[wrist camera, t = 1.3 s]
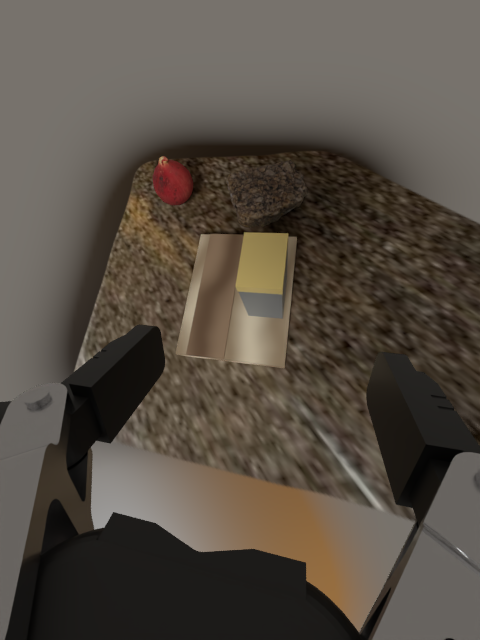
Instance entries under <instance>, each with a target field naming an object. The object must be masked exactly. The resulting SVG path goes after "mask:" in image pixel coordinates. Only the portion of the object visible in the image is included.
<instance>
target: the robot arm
mask: <svg viewBox="0 0 480 640" xmlns="http://www.w3.org/2000/svg"><path fill="white" fill-rule="evenodd" d="M164 367H165V356H164V350H163V344H162V338H161V332H160V329H159V328H158V327H156V326H147V325H137V326H135V327H134V328H133V329H132V330H131V331H129V332H128V333H127V334H126V335H124V336H122V337H120V338H118V339H116V340H114V341H112V342H110V343H109V344H108V345H107V346H105V347H104V348H103V349H102V350H101V352H100V351H99V352H98V353H97V354H96V355H94V356H93V359H92V358H91V359H90V360H88V361H87V362H86V363H85V364H84V365H82V366H81V367H80V368H79V369H78V370H76V371H75V372H74V373H73V374H72V375H70V376H69V377H68V378H67V379H65V380H64V381H63V382H62V383H61V384H60V383H47V384H42V385H39V386H36V387H33V388H31V389H29V390H27V391H25V392H23V393H22V394H20V395H19V396H18V397H16V398H15V399H14V400H13V401H8V402H0V640H480V446H479V445H478V443H477V442H476V440H475V439H474V437H473V436H472V434H471V433H470V431H469V430H468V428H467V427H466V425H465V424H464V422H463V421H462V419H461V418H460V416H459V415H458V413H457V412H456V411H454V407H453V406H452V404H451V403H450V401H449V400H447V399H446V395H445V394H444V393H443V391H442V390H441V388H440V387H439V385H438V384H437V383H436V382H435V381H434V380H432V379H431V378H430V377H429V376H427V375H426V374H425V373H424V372H418V371H416V370H415V368H414V367H413V365H412V363H411V362H410V360H409V358H408V357H407V356H406V355H404V354H395V353H386V352H379V353H378V355H377V357H376V360H375V363H374V367H373V370H372V374H371V377H370V380H369V384H368V387H367V395H366V398H367V406H368V409H369V413H370V416H371V420H372V423H373V427H374V430H375V434H376V437H377V441H378V444H379V447H380V451H381V454H382V458H383V461H384V465H385V468H386V472H387V475H388V479H389V482H390V485H391V489H392V492H393V496H394V499H395V503H396V504H397V505H401V506H406V507H411V508H413V510H414V513H415V516H416V519H417V520H416V522H415V524H414V525H413V527H412V529H411V532H410V533H409V535H408V537H407V540H406V542H405V544H404V546H403V548H402V550H401V552H400V554H399V556H398V558H397V560H396V562H395V564H394V566H393V568H392V570H391V572H390V574H389V576H388V578H387V580H386V582H385V584H384V586H383V588H382V590H381V592H380V594H379V596H378V597H377V600H376V601H375V603H374V605H373V607H372V608H371V610H370V612H369V614H368V616H367V618H366V620H365V622H364V624H363V626H362V628H361V630H360V632H358V631H357V629H356V628H355V627H354V626H353V624H352V623H351V622H350V621H349V619H348V618H347V617H346V616H345V614H344V613H343V612H342V611H341V610H340V609H339V608H338V607H337V606H336V605H335V604H334V603H333V602H332V601H331V600H330V599H329V598H328V597H327V596H326V595H325V594H324V593H322V592H321V591H320V590H318V588H316V587H315V586H313V585H312V584H310V583H309V582H307V581H306V563H305V562H301V561H297V560H293V559H290V558H286V557H282V556H278V555H274V554H271V553H267V552H263V551H259V550H255V549H248V550H247V549H246V550H232V551H231V550H230V551H214V552H198V551H196V550H194V549H192V548H191V547H189V546H188V545H186V544H185V543H183V542H182V541H180V540H179V539H178V538H176V537H175V536H173V535H172V534H170V533H169V532H168V531H166V530H165V529H163V528H162V527H160V526H159V525H157V524H156V523H153V522H149V521H145V520H141V519H137V518H133V517H130V516H126V515H122V514H118V513H114V512H113V514H112V516H111V517H110V519H109V521H108V523H107V524H106V526H105V528H101V529H96V530H94V525H93V521H92V516H91V485H92V450H91V446H92V445H93V444H94V443H95V441H101V442H106V443H111V442H112V441H113V439H114V438H115V437H116V435H117V434H118V433H119V431H120V430H121V429H122V427H123V426H124V425H125V423H126V422H127V420H128V419H129V418H130V416H131V415H132V414H133V412H134V411H135V410H136V408H137V407H138V406H139V404H140V403H141V402H142V400H143V399H144V397H145V396H146V395H147V393H148V392H149V391H150V389H151V388H152V387H153V385H154V384H155V383H156V381H157V380H158V379H159V377H160V376H161V374H162V373H163V370H164Z"/></svg>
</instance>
